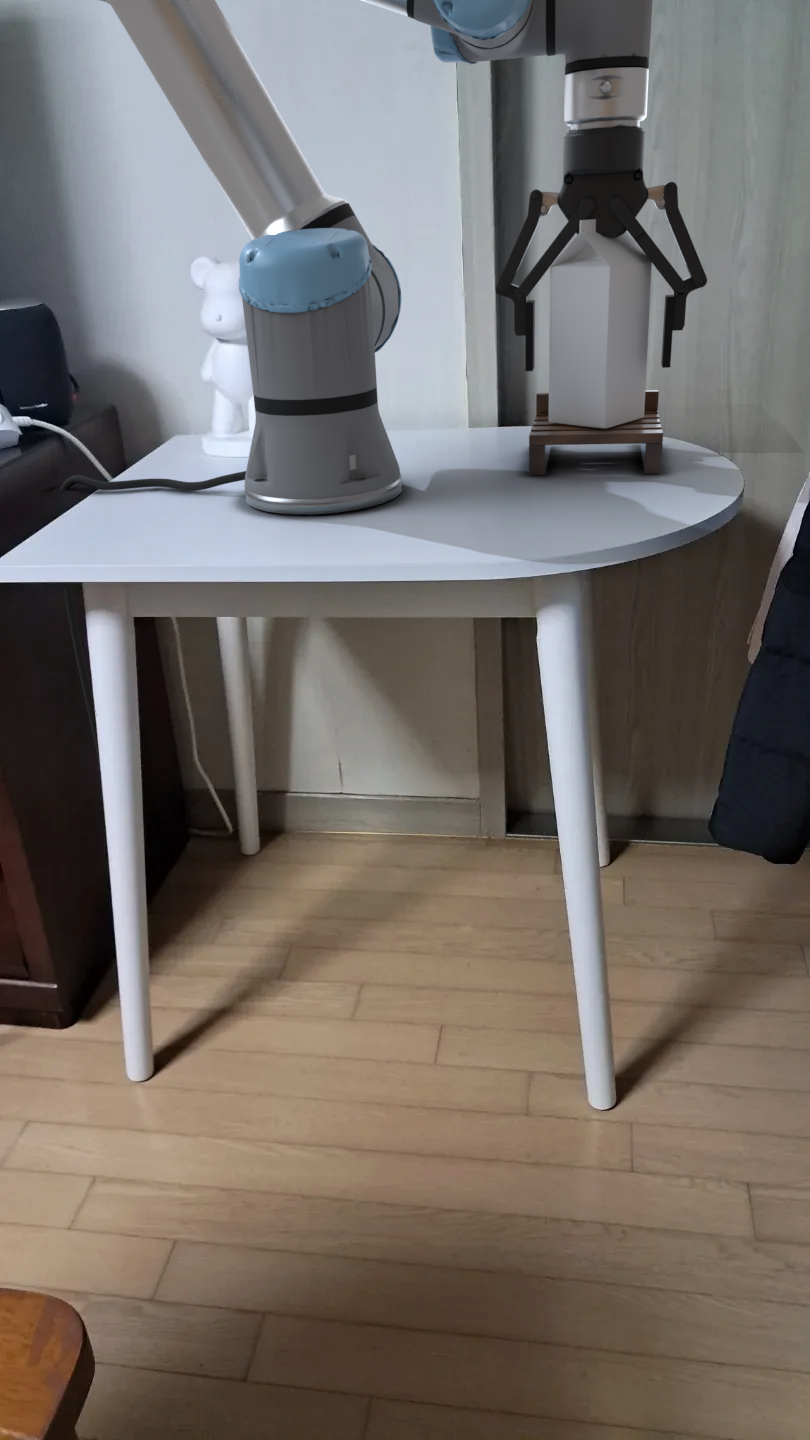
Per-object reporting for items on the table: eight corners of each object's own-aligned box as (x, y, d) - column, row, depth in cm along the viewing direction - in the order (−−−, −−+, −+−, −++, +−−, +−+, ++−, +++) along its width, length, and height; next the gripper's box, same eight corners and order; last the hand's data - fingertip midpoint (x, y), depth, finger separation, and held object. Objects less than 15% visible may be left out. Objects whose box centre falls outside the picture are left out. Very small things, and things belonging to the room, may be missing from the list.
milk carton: (644, 419, 107) (655, 215, 99) (604, 430, 102) (612, 218, 94) (588, 413, 112) (593, 218, 103) (547, 424, 107) (549, 221, 99)
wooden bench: (528, 475, 104) (529, 414, 102) (536, 448, 116) (536, 392, 113) (660, 474, 102) (664, 411, 99) (655, 446, 113) (658, 389, 111)
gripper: (466, 134, 94) (470, 376, 104) (750, 114, 90) (728, 369, 99) (475, 138, 101) (478, 365, 110) (740, 120, 96) (720, 359, 106)
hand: (597, 368), depth 105 cm, fingers open, 13 cm apart
